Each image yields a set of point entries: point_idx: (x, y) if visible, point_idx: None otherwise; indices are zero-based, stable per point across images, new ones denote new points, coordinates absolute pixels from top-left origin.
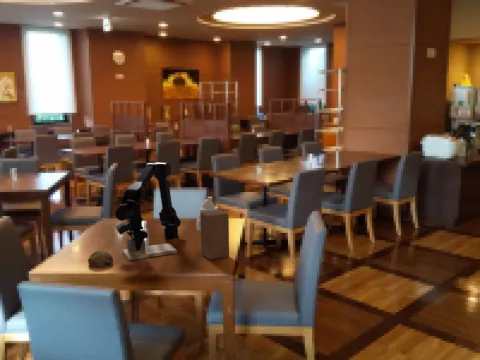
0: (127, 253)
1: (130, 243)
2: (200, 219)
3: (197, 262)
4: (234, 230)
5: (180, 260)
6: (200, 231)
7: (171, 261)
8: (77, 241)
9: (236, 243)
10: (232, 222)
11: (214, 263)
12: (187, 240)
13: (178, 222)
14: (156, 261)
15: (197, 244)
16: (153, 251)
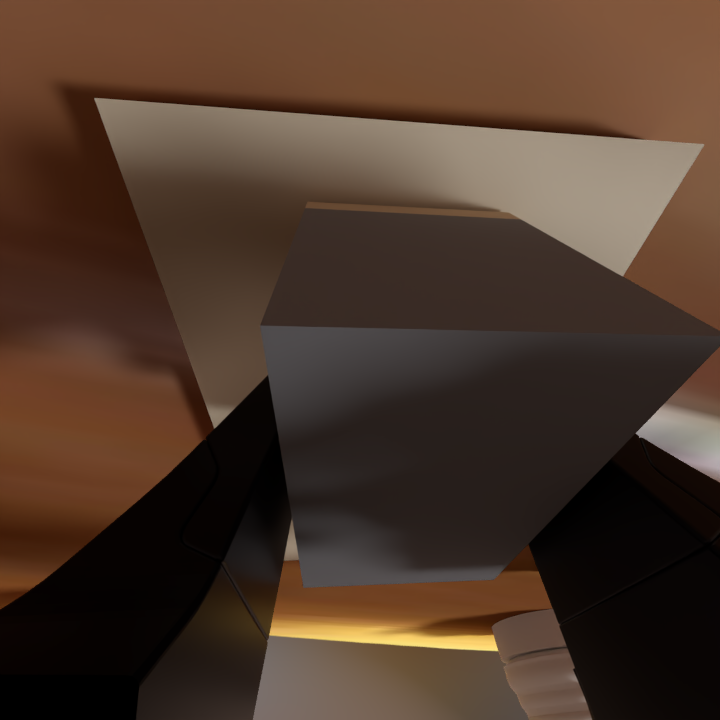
0: (385, 162)
1: (270, 349)
2: (575, 688)
3: (29, 564)
4: (450, 643)
5: (80, 525)
6: (539, 611)
7: (54, 491)
8: None
9: (302, 637)
10: None
11: (12, 594)
12: (466, 581)
13: (590, 713)
14: (56, 417)
15: (371, 592)
16: None
